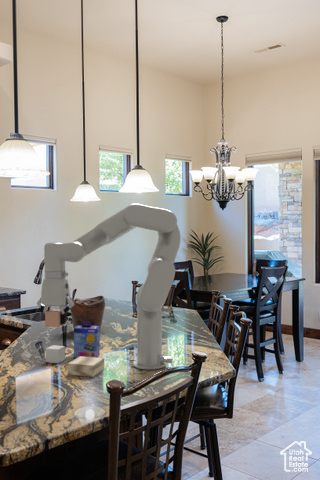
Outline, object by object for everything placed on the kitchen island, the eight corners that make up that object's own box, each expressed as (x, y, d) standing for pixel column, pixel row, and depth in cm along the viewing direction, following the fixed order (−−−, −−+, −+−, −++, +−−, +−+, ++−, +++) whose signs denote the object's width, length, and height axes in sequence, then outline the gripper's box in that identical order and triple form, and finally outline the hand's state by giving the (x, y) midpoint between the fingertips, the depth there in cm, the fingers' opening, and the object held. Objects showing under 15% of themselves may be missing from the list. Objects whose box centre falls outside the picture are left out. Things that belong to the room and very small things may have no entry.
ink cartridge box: (73, 357, 196) (73, 322, 196) (76, 354, 202) (76, 319, 202) (97, 358, 196) (97, 322, 195) (99, 354, 201) (99, 320, 201)
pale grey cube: (64, 359, 194) (64, 346, 193) (58, 363, 188) (58, 349, 188) (52, 358, 195) (52, 345, 195) (45, 362, 190) (45, 348, 190)
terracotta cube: (65, 324, 182) (65, 309, 182) (58, 327, 177) (58, 312, 177) (52, 323, 184) (52, 309, 183) (45, 326, 178) (45, 311, 178)
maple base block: (104, 368, 180) (104, 358, 180) (93, 376, 171) (93, 365, 171) (79, 366, 183) (79, 356, 183) (67, 374, 174) (67, 363, 174)
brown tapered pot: (60, 333, 242) (60, 297, 241) (84, 326, 260) (84, 293, 259) (89, 337, 234) (89, 300, 233) (111, 330, 251) (112, 295, 251)
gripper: (80, 275, 181) (80, 322, 181) (39, 274, 186) (40, 320, 186) (71, 277, 174) (71, 326, 174) (29, 276, 179) (30, 324, 179)
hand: (55, 323), depth 180 cm, fingers closed on terracotta cube, 5 cm apart
